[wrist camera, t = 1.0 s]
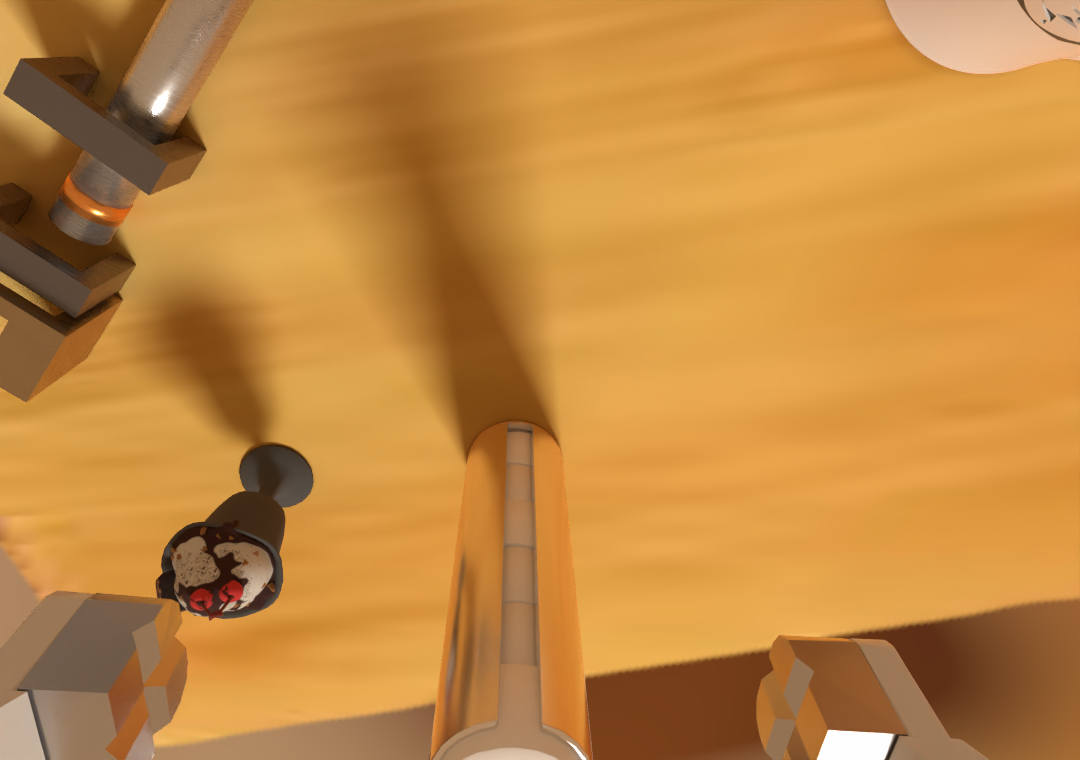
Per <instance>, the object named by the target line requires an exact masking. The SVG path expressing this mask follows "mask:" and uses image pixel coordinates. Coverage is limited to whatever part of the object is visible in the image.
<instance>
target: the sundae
mask: <svg viewBox="0 0 1080 760" xmlns="http://www.w3.org/2000/svg"><path fill="white" fill-rule="evenodd" d="M239 473H240V479H241V482H242V485H243V487H244V488H245V490H246V491H243V492H239V493H237V494H234V495H232V496H231V497H229V498H228V499H227V500H226V501H225V502H223V503H222V504H221V505H220V506H219V507H218V508H217V509H216V510H215V511H214V512H213V513H212V514H211V515H210V516H209V517H208V518H207V519H206V521H205V522H197V523H192V524H189V525H187V526H186V527H184V528H183V529H181V530H180V531H179V532H177V533H176V534H175V535H174V537H173V538H172V539H171V540H170V542H169V543H168V545H167V546H166V547H165V549H164V553H163V556H162V563H161V567H162V571H163V574H162V575H160V576H159V578H158V579H157V580H156V591H157V598H161V599H172V600H174V601H176V602H178V603H179V607H180V612H183V611H185V610H187V611H189V612H191V613H192V614H193V615H195V616H202V617H209V621H210V620H212V619H213V618H221V619H228V618H238V617H244V616H247V615H250V614H253V613H256V612H258V611H261V610H263V609H265V608H267V607H269V606H270V605H271V604H273V603H274V601H275V600H276V599H277V598H278V596H279V594H280V591H281V588H282V583H283V568H282V561H281V557H280V555H279V552H280V548H281V545H282V541H283V536H284V529H285V514H284V511H283V509H282V508H281V507H290V506H293V505H296V504H298V503H300V502H302V501H303V500H304V499H305V498H306V497H307V496H308V495H309V494H310V492H311V489H312V486H313V474H312V471H311V468H310V467H309V465H308V463H307V462H306V461H305V460H304V458H303V457H301V456H300V455H299V454H297V453H296V452H294V451H293V450H290V449H288V448H285V447H281V446H262V447H259V448H256V449H254V450H252V451H250V452H249V453H248V454H247V455H246V456H245V458H244V459H243V460H242V463H241V466H240V472H239Z"/></svg>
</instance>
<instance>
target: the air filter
mask: <svg viewBox="0 0 1080 760" xmlns="http://www.w3.org/2000/svg"><path fill="white" fill-rule="evenodd" d="M429 760H593V757H592V747H591V737H590V727H589V717H588V707H587V698H586V687H585V677H584V667H583V657H582V647H581V637H580V627H579V617H578V608H577V598H576V588H575V578H574V568H573V558H572V548H571V538H570V528H569V518H568V508H567V498H566V488H565V478H564V469H563V459H562V454H561V451H560V448H559V445H558V444H557V442H556V441H555V439H554V438H553V436H551V435H550V434H549V433H548V432H547V431H546V430H544V429H543V428H541V427H539V426H537V425H535V424H533V423H528V422H524V421H506V422H502V423H498V424H495V425H493V426H491V427H489V428H487V429H486V430H484V431H483V432H482V433H481V434H480V435H479V436H478V437H477V438H476V439H475V441H474V442H473V444H472V446H471V447H470V450H469V454H468V458H467V466H466V474H465V481H464V489H463V497H462V505H461V513H460V521H459V528H458V536H457V544H456V552H455V560H454V568H453V575H452V583H451V591H450V599H449V607H448V615H447V622H446V630H445V638H444V646H443V654H442V662H441V669H440V677H439V685H438V693H437V701H436V709H435V717H434V724H433V732H432V741H431V748H430V756H429Z"/></svg>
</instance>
